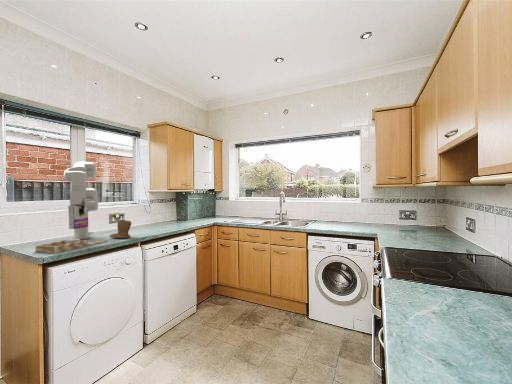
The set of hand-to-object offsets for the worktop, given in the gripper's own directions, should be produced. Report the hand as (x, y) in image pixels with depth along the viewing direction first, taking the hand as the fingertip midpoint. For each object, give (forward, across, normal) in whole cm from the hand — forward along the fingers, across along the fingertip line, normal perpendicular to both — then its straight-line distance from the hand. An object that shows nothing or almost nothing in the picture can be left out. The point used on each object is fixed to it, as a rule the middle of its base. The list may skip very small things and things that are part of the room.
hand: (78, 213), depth 174 cm
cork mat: (+23, +4, +10) cm, 25 cm away
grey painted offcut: (+21, -3, -2) cm, 21 cm away
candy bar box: (+10, 0, 0) cm, 10 cm away
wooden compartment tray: (+23, -3, -9) cm, 25 cm away
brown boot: (+23, +6, +32) cm, 40 cm away
